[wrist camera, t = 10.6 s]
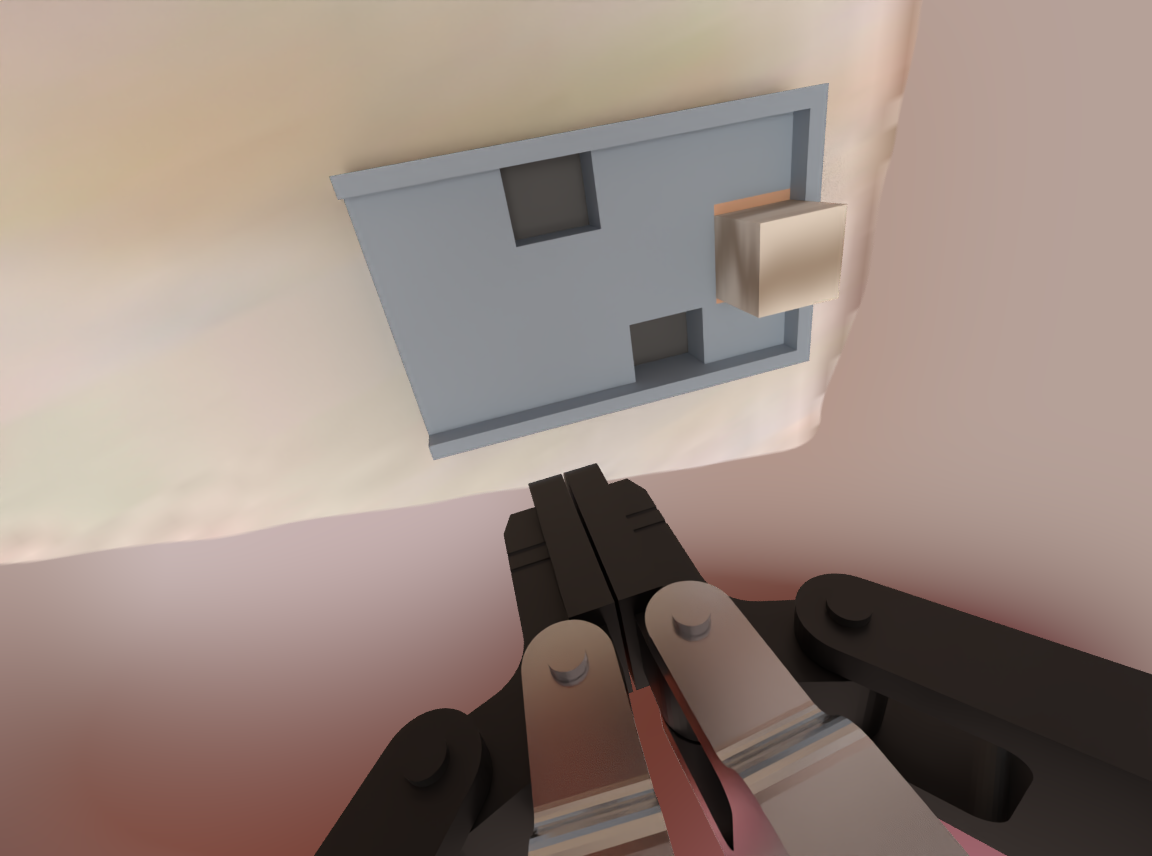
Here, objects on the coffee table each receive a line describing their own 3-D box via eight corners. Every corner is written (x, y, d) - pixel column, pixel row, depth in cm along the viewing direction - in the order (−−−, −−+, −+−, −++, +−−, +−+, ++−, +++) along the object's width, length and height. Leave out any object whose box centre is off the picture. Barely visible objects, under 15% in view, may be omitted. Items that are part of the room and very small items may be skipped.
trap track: (345, 175, 27) (329, 176, 23) (779, 93, 30) (828, 82, 26) (434, 427, 35) (433, 460, 31) (771, 341, 38) (809, 360, 34)
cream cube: (714, 215, 30) (760, 223, 25) (789, 199, 30) (847, 204, 26) (716, 298, 32) (758, 317, 28) (786, 281, 33) (838, 298, 29)
